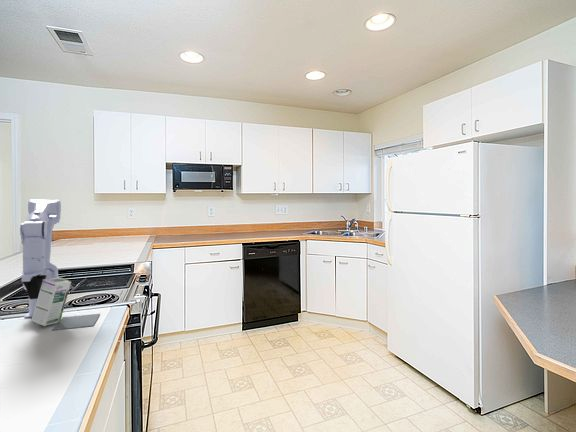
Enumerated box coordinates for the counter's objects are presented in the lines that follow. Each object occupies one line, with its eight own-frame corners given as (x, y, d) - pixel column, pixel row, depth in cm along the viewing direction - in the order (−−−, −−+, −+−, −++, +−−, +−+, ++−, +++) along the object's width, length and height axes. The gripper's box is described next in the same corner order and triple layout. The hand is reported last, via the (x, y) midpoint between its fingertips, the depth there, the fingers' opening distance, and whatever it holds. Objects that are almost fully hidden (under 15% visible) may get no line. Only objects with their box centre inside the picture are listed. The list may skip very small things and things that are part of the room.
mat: (62, 318, 112) (62, 317, 112) (99, 314, 116) (99, 313, 116) (52, 330, 101) (52, 329, 101) (93, 326, 105) (93, 325, 105)
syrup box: (44, 326, 101) (57, 283, 102) (30, 320, 103) (43, 278, 103) (60, 322, 107) (72, 281, 108) (46, 316, 108) (58, 276, 109)
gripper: (41, 260, 98) (41, 303, 98) (55, 253, 111) (55, 291, 112) (12, 261, 95) (13, 305, 96) (31, 254, 109) (31, 293, 109)
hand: (34, 298), depth 103 cm, fingers closed
